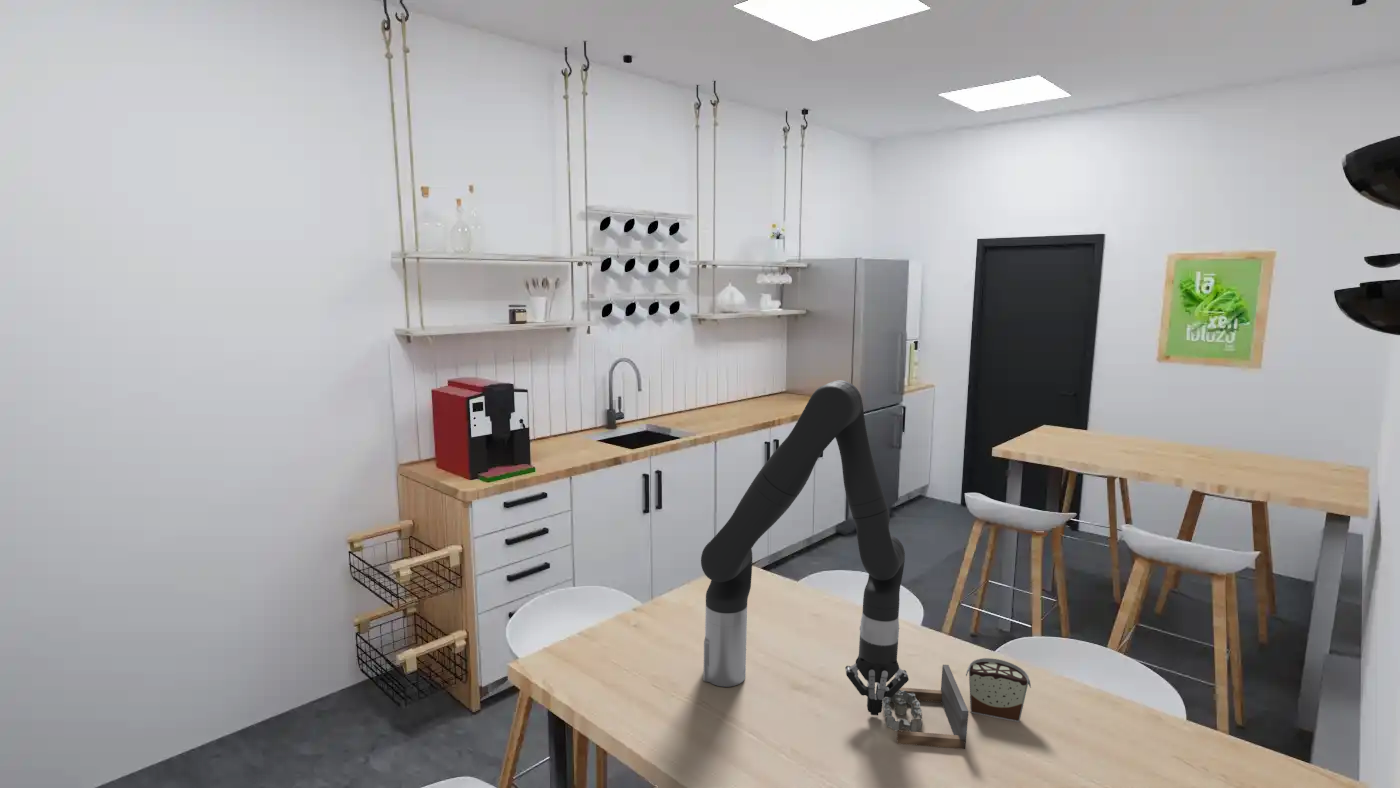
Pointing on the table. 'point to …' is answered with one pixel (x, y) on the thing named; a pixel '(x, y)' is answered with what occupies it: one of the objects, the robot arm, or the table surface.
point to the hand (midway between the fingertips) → (874, 712)
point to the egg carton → (903, 711)
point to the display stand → (953, 710)
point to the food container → (997, 688)
